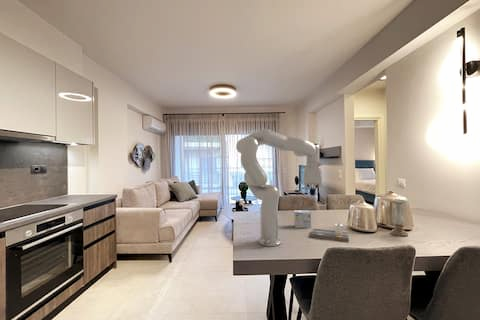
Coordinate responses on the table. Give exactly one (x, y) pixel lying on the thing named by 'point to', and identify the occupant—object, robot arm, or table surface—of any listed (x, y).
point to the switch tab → (339, 228)
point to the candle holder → (398, 219)
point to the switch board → (329, 234)
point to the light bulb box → (302, 219)
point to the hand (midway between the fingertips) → (312, 195)
